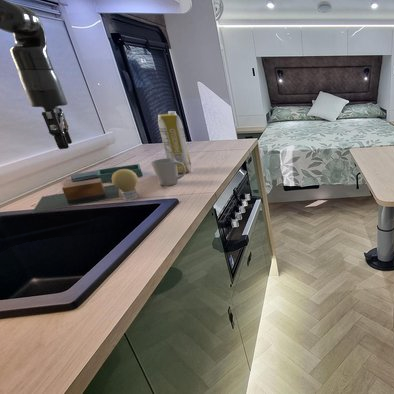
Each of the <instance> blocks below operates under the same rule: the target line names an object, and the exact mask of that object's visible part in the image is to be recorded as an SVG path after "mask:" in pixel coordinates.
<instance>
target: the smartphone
mask: <svg viewBox="0 0 394 394" xmlns="http://www.w3.org/2000/svg"><path fill="white" fill-rule="evenodd" d="M114 167H115V166H112V167H111V168H114ZM98 170H99V169H97V170H91V171H85V172H80V173H74V174H71V175H70V181H71V183H73V182H79V181H86V180H92V179H97V178H98V177H97V173H98Z"/></svg>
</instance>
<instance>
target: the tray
mask: <svg viewBox="0 0 394 394" xmlns="http://www.w3.org/2000/svg"><path fill="white" fill-rule="evenodd" d="M113 167H114V168H112V167H106V168H100V169H97V170H98V173H97V177H96V178H97V179H99V178H101V180H102V183H103V184H104V183H110V182H112V175H113V173H114V172H116V171H118V170H121V169H128V170H131V171H133V172H134V173H135V174H136V175H137V177H138V178H139V177H143V172H142V168H141V165H140V163H135V164H129V165H122V166H113Z"/></svg>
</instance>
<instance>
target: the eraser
mask: <svg viewBox="0 0 394 394" xmlns="http://www.w3.org/2000/svg"><path fill="white" fill-rule="evenodd" d="M104 186H105V185H104V183H102V180H101V178H99V179H98V178H91V179H86V180H81V181H76V182H68V183H63V185H62V188H61V190H62V193H64V194H65V197H66V199H67V202H68V203H74V202H79V201H85V200H90V199H96V198H101V197H106V191H105V188H104Z"/></svg>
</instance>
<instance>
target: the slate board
mask: <svg viewBox="0 0 394 394" xmlns="http://www.w3.org/2000/svg"><path fill="white" fill-rule="evenodd" d="M104 188H105V191H106V197H101V198H96V199H90V200H85V201H79V202H74V203H68V202H67V199H66V197H65V194H64V192H62V193H56V194H49V195H44V196H41V198H40V199H39V201H38V202H37V204H36V205H35V207H34V209H33V211H32V212H31V214H36V213H37V214H38V213H42V212H48V211H53V210H57V209H58V208H59V209H63V208H68V207H73V206H79V205H80V206H81V205H85V204H90V203H95V202H100V201H106V200H111V199H116V198H120V189H119V188H117V187H116V186H115V185H114V184H109V185H104Z"/></svg>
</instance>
